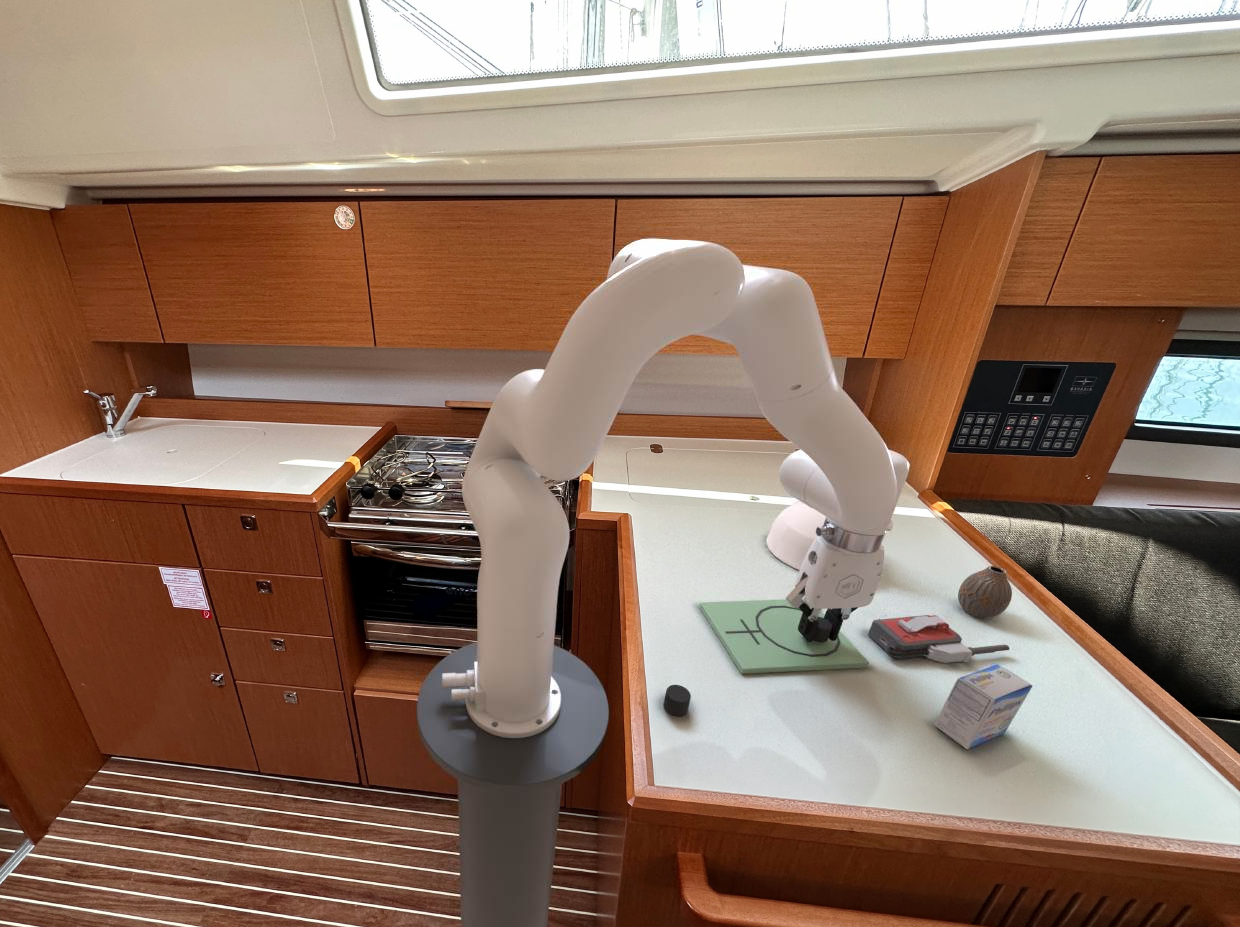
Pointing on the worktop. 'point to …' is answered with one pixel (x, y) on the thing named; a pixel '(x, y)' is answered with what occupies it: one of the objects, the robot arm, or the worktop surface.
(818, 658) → the drawing board
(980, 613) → the vase
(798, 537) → the kettle
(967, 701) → the medicine box
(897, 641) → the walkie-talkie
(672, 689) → the eye dot
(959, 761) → the worktop surface
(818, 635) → the eye dot
